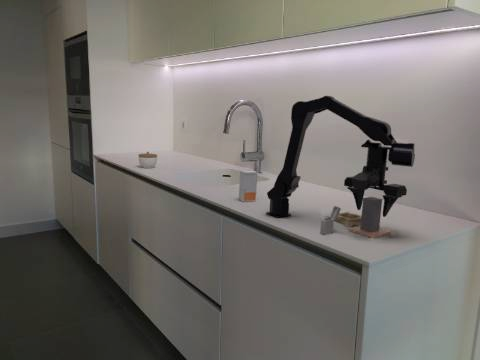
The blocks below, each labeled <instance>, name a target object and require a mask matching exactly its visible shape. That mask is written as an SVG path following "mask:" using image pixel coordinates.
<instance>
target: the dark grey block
mask: <svg viewBox="0 0 480 360" xmlns="http://www.w3.org/2000/svg"><path fill="white" fill-rule="evenodd" d="M382 205H383V199H382V198H377V197H374V196H367V197H363V202H362V206H361V224H360V226H361V227H360V229H362V230H365V231H368V232H375V231H379V228H380V224H381V216H382V215H381V214H382Z"/></svg>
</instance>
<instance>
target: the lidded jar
mask: <svg viewBox="0 0 480 360" xmlns="http://www.w3.org/2000/svg"><path fill="white" fill-rule="evenodd" d="M157 160H158V155H157V154H156V153H149V151H146V153H139V154H138V163H139V166H141V168H142V169H153V168H154V167H155V166H156V165H157Z"/></svg>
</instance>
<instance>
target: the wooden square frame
mask: <svg viewBox="0 0 480 360" xmlns="http://www.w3.org/2000/svg"><path fill="white" fill-rule="evenodd" d="M361 216H362V214H361V215H360V214H356V213H353V212H349V211H345V212H339V215H338V218H337V220H336V221H335V220H334V222H337V223H340V224H343V225H346V226H349V227H355V226H360V225H361Z"/></svg>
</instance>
